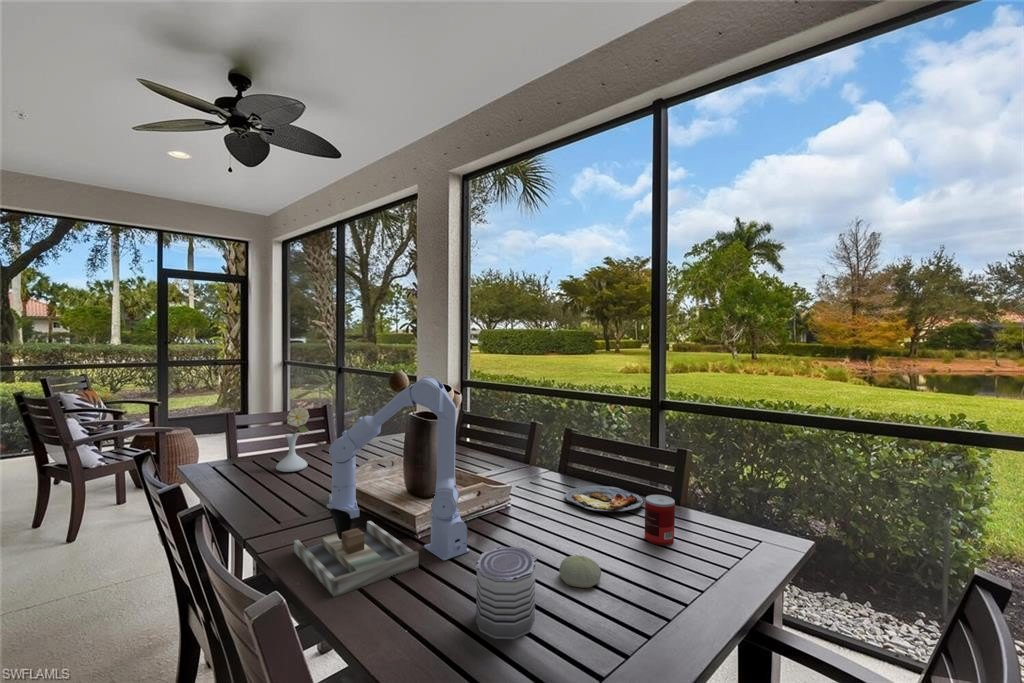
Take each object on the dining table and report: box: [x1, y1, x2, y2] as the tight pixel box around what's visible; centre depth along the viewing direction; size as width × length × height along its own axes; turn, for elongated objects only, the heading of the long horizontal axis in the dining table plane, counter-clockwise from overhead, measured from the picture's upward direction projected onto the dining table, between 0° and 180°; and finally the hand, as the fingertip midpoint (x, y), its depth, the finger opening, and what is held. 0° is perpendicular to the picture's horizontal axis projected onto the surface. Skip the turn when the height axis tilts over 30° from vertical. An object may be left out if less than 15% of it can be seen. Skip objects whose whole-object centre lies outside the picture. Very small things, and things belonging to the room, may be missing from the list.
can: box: [474, 546, 538, 640], centre depth 91 cm, size 11×11×12 cm
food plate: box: [564, 485, 645, 513], centre depth 157 cm, size 25×23×4 cm
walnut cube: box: [342, 527, 364, 554], centre depth 116 cm, size 4×4×4 cm
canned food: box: [644, 494, 676, 546], centre depth 129 cm, size 8×8×11 cm
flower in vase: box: [275, 406, 310, 473], centre depth 187 cm, size 13×11×25 cm
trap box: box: [293, 520, 420, 598], centre depth 115 cm, size 26×20×3 cm
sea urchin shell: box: [558, 554, 602, 589], centre depth 107 cm, size 9×8×8 cm
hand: (343, 537), depth 120 cm, fingers closed
